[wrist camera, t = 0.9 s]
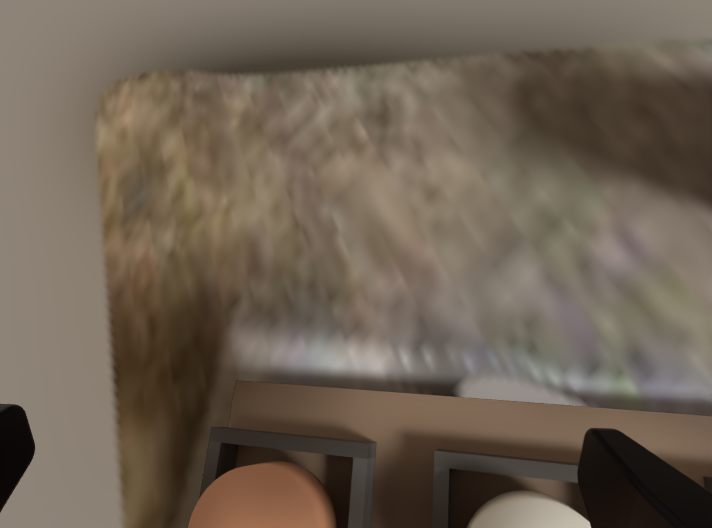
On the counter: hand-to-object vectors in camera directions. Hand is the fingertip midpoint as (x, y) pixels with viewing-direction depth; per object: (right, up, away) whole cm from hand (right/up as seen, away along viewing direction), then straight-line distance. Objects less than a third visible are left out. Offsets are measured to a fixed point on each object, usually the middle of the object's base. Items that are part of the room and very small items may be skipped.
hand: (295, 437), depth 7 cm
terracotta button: (-2, -7, +9) cm, 11 cm away
